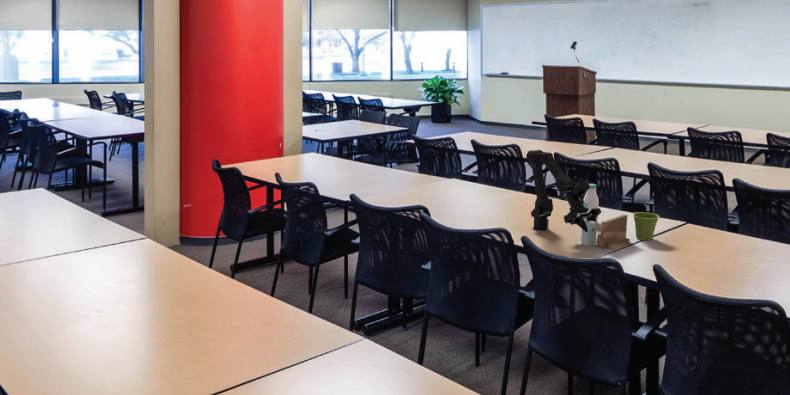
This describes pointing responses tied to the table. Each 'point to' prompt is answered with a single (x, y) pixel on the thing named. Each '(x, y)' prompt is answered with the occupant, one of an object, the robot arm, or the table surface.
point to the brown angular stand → (613, 232)
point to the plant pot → (645, 225)
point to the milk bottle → (591, 199)
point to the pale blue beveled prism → (589, 234)
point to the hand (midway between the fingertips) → (591, 231)
